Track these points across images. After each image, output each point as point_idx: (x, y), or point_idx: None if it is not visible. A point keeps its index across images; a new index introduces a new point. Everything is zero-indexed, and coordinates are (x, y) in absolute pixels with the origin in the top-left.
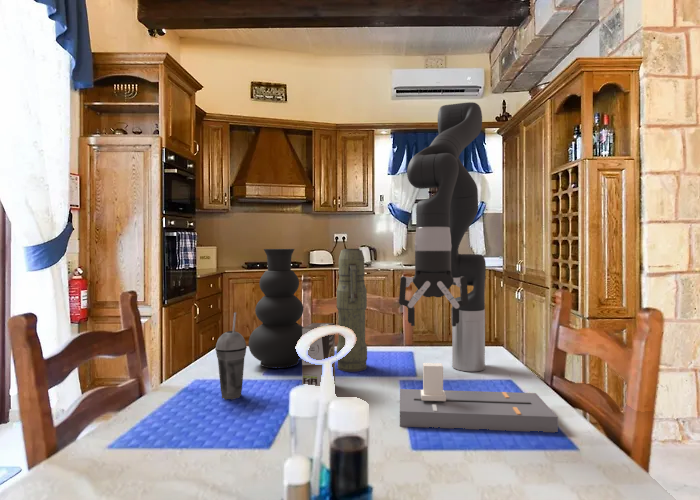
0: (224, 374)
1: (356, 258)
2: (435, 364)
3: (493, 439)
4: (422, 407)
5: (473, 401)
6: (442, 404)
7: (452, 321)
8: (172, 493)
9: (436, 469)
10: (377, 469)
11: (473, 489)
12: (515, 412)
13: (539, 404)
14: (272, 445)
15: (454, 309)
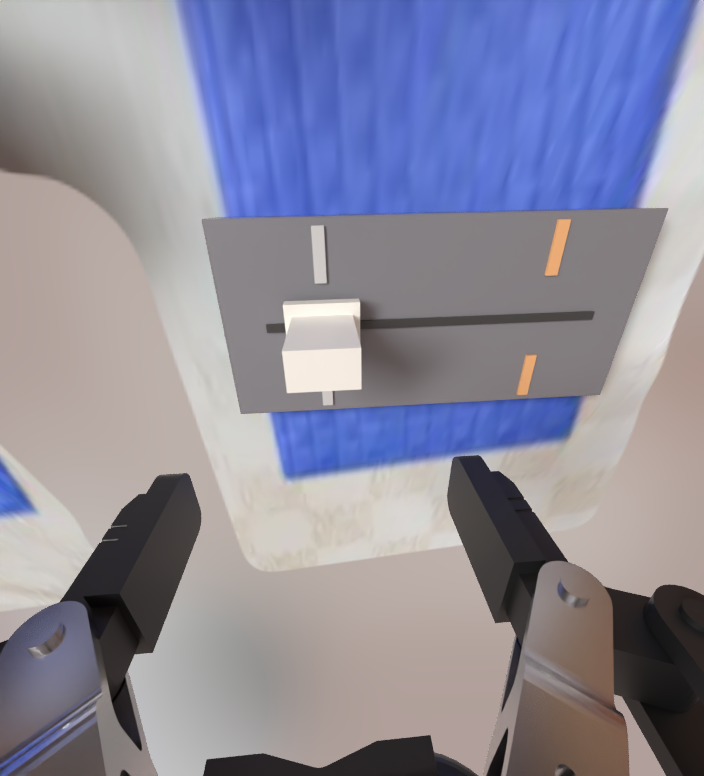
0: None
1: None
2: (333, 368)
3: (436, 424)
4: None
5: (438, 325)
6: None
7: (458, 522)
8: (8, 609)
9: (325, 522)
10: (241, 534)
11: (369, 551)
12: (518, 382)
13: (610, 318)
14: (32, 502)
15: (508, 618)
